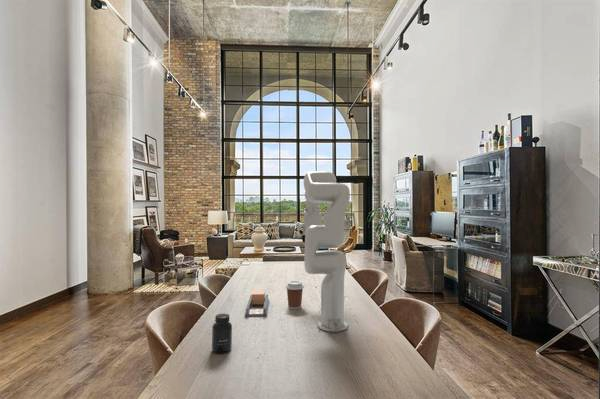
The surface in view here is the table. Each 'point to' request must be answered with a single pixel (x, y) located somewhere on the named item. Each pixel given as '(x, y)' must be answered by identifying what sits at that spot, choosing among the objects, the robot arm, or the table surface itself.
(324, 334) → the table surface
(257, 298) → the block
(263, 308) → the steel chute
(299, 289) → the coffee cup
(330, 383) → the table surface
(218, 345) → the supplement bottle
